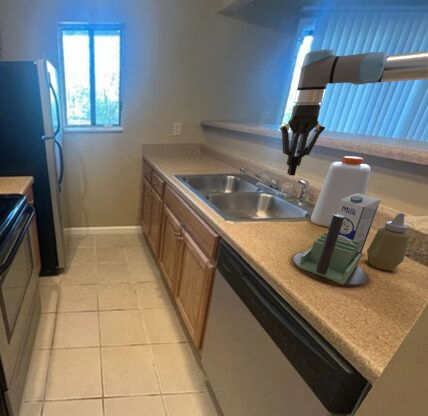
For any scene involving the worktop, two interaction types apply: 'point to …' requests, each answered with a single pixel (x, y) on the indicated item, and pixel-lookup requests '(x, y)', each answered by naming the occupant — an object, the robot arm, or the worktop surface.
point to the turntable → (354, 280)
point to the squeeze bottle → (389, 244)
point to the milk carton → (357, 217)
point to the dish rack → (332, 254)
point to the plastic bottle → (340, 187)
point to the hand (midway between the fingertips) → (290, 174)
